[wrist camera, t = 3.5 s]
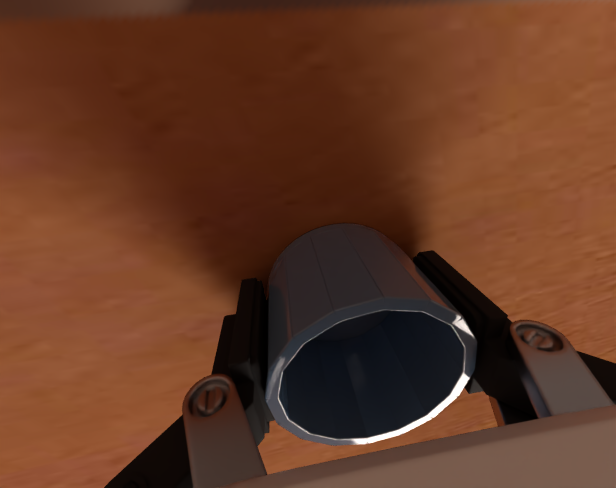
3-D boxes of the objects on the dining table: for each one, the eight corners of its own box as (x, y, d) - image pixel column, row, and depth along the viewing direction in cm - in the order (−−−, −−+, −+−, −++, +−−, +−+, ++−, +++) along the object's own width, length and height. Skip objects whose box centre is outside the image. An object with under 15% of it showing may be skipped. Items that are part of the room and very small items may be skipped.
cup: (236, 281, 11) (216, 386, 7) (361, 191, 10) (426, 251, 6) (320, 357, 13) (341, 465, 9) (425, 292, 12) (502, 383, 8)
